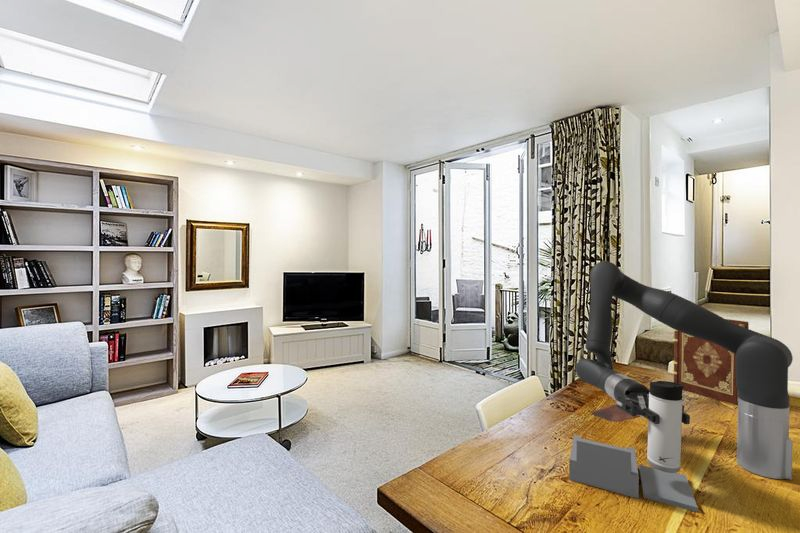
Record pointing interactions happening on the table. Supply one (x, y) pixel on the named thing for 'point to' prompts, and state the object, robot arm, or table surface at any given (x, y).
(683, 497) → the slate tile
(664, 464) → the travel mug
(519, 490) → the table surface
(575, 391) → the table surface
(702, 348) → the decorative book
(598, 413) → the wooden tablet
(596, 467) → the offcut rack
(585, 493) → the table surface
